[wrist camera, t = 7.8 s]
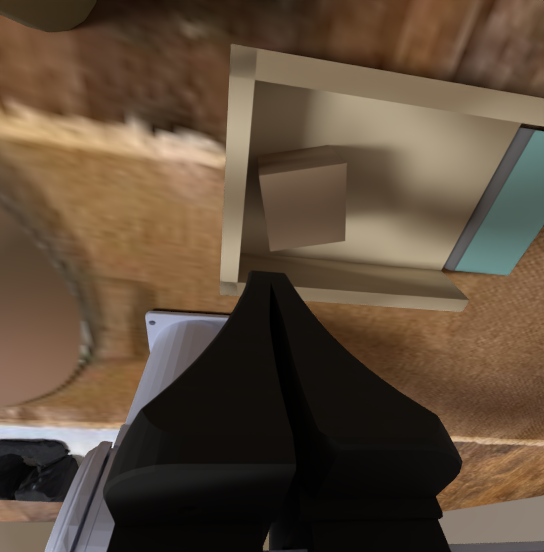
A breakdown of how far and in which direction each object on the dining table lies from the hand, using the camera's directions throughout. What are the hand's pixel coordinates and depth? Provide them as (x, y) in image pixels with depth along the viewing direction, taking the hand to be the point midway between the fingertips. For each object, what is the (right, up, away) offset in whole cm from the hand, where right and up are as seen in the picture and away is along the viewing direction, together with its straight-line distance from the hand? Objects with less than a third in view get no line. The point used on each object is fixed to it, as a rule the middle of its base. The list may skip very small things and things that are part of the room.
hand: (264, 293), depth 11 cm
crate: (+6, +6, +8) cm, 12 cm away
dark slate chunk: (-35, -23, +26) cm, 49 cm away
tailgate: (+14, +5, +8) cm, 17 cm away
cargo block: (+2, +6, +7) cm, 9 cm away
